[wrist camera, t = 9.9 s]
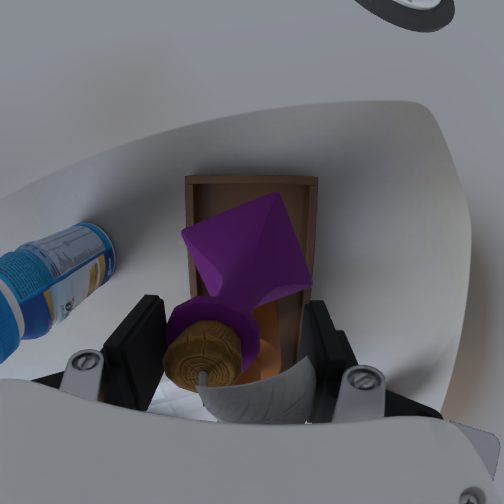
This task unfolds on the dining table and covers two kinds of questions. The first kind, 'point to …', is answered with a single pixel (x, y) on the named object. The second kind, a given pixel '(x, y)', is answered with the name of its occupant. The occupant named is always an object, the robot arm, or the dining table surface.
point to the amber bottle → (264, 346)
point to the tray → (301, 216)
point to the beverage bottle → (50, 281)
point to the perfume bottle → (239, 315)
